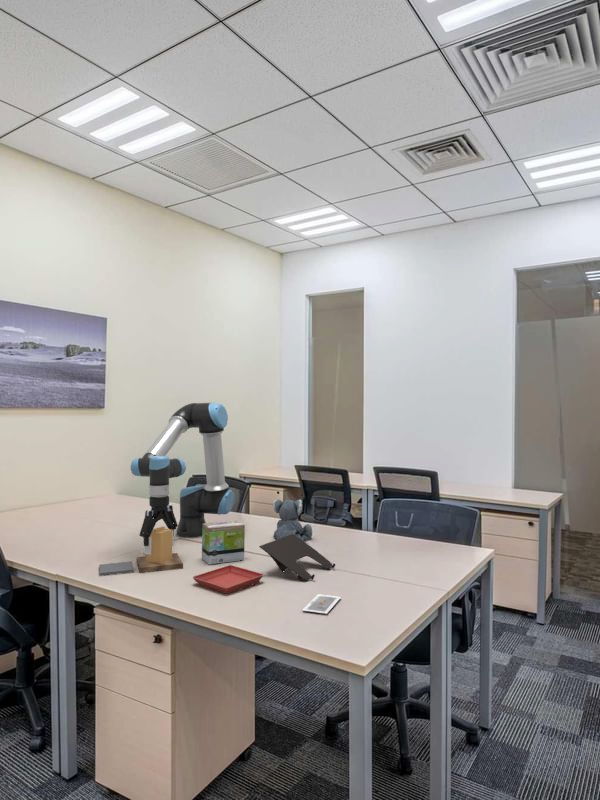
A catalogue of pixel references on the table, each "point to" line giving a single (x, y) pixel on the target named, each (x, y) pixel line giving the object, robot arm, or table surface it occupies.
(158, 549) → the tan tall block
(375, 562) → the table surface
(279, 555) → the portable electronic device stand
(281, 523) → the koala plush
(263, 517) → the table surface
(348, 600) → the table surface
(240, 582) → the plant saucer
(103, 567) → the pad
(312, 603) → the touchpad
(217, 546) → the tea box
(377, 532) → the table surface
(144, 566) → the wooden base with post
